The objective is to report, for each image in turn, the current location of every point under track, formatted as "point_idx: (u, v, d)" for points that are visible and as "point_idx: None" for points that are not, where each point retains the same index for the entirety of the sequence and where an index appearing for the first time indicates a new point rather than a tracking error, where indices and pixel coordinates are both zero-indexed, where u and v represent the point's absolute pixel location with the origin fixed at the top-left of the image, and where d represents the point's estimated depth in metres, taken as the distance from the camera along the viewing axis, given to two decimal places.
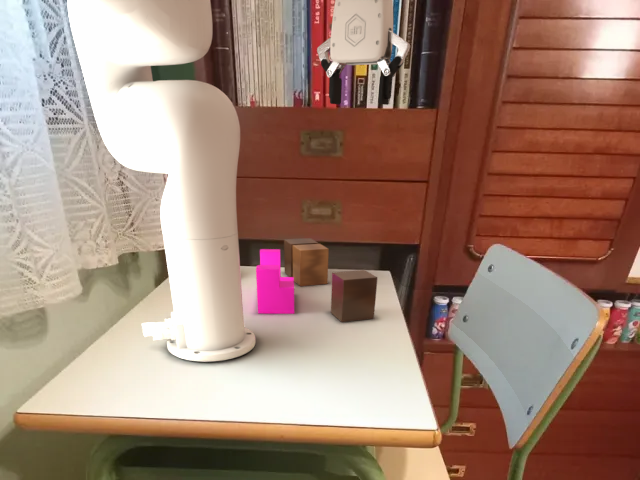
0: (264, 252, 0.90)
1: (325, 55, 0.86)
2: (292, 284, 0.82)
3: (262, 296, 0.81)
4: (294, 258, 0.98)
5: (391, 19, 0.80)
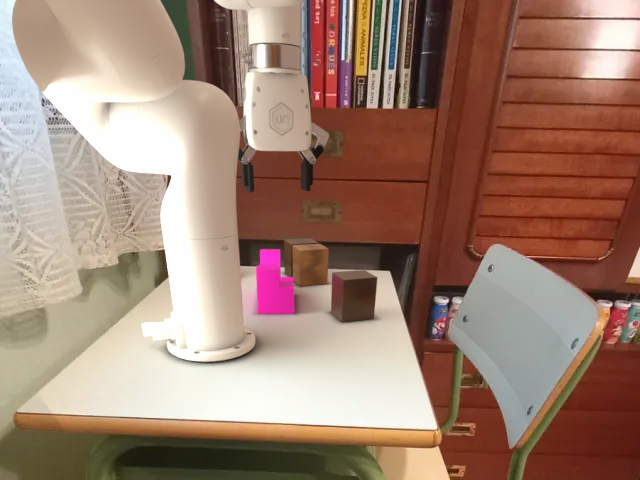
0: (264, 252, 0.90)
1: None
2: (292, 284, 0.82)
3: (262, 296, 0.81)
4: (294, 258, 0.98)
5: None
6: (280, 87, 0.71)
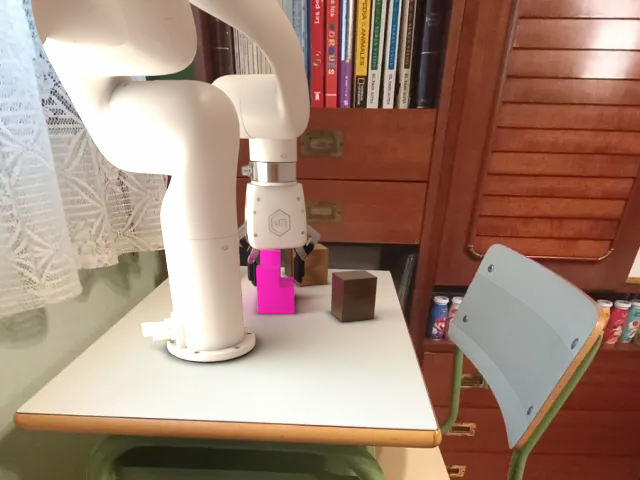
0: (264, 252, 0.90)
1: (239, 243, 0.82)
2: (292, 284, 0.82)
3: (262, 296, 0.81)
4: None
5: None
6: (279, 197, 0.78)
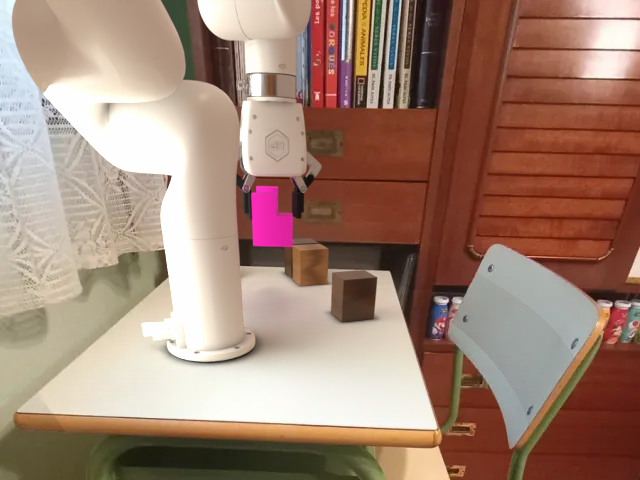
0: (261, 187, 0.84)
1: None
2: (290, 214, 0.76)
3: (258, 226, 0.75)
4: (294, 258, 0.98)
5: None
6: (276, 115, 0.72)
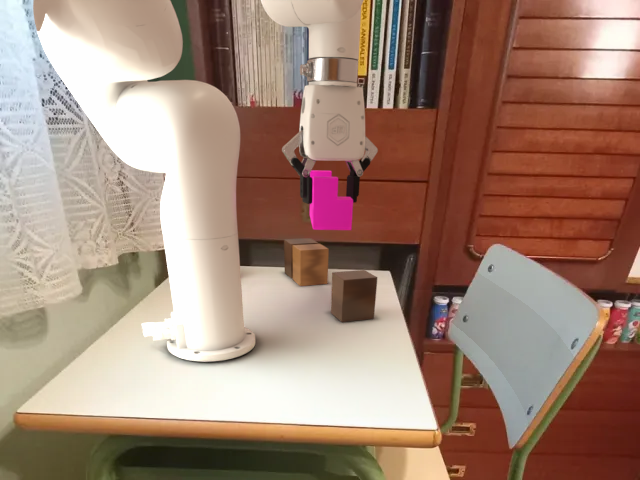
0: (315, 172, 0.85)
1: (294, 153, 0.77)
2: (350, 198, 0.78)
3: (319, 210, 0.76)
4: (294, 258, 0.98)
5: None
6: (339, 99, 0.73)
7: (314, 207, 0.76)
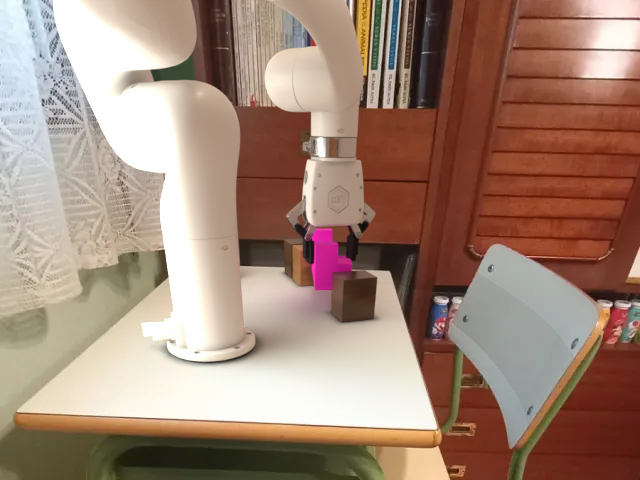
0: (317, 231, 0.90)
1: (297, 220, 0.82)
2: (349, 261, 0.83)
3: (320, 273, 0.82)
4: (294, 258, 0.98)
5: None
6: (339, 172, 0.78)
7: (316, 270, 0.82)
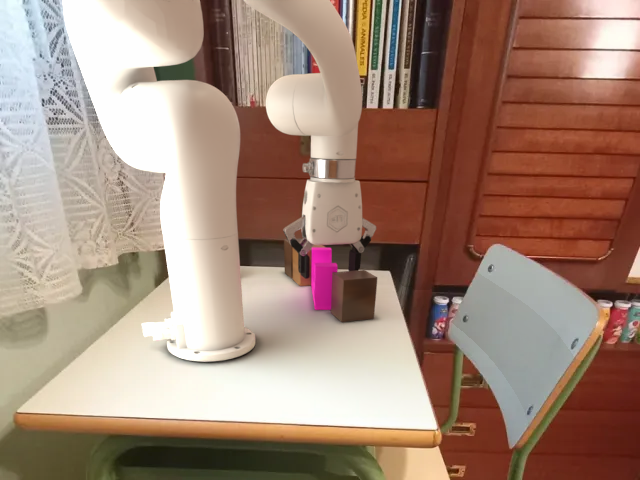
0: (316, 250, 0.92)
1: None
2: None
3: (320, 293, 0.84)
4: (294, 258, 0.98)
5: None
6: (338, 193, 0.80)
7: (316, 291, 0.83)
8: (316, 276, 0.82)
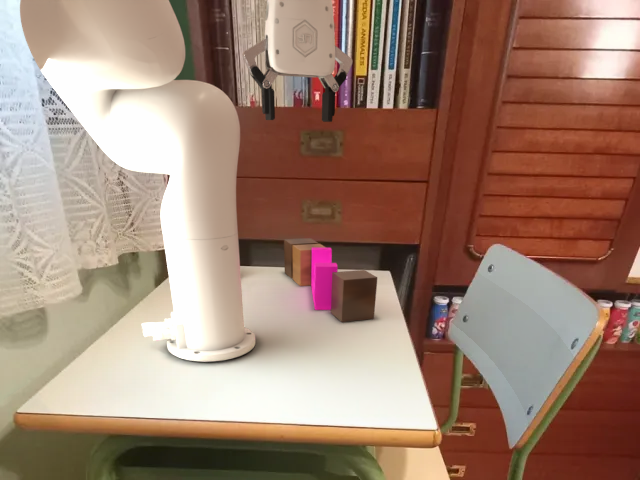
0: (316, 250, 0.92)
1: None
2: None
3: (320, 293, 0.84)
4: (294, 258, 0.98)
5: None
6: (305, 3, 0.68)
7: (316, 291, 0.83)
8: (316, 276, 0.82)
